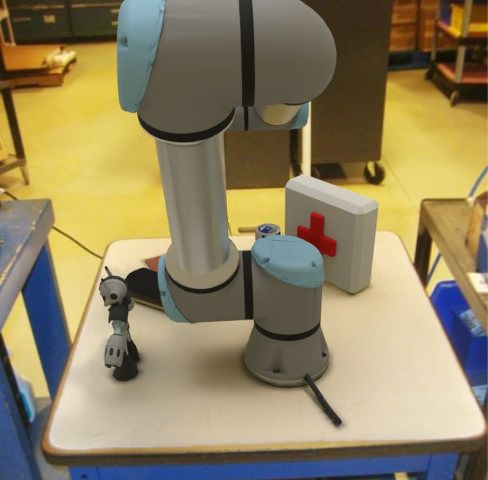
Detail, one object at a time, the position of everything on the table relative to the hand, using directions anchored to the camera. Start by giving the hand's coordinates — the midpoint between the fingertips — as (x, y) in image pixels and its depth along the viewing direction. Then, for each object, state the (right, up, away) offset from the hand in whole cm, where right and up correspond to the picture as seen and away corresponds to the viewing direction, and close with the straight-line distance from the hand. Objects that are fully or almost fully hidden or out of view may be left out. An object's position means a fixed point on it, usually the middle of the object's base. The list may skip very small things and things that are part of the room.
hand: (211, 251), depth 133 cm
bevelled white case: (+25, -5, +3) cm, 25 cm away
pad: (-6, 0, +11) cm, 12 cm away
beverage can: (+12, -9, -2) cm, 15 cm away
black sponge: (-11, -10, -3) cm, 15 cm away
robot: (-14, -24, -21) cm, 35 cm away
